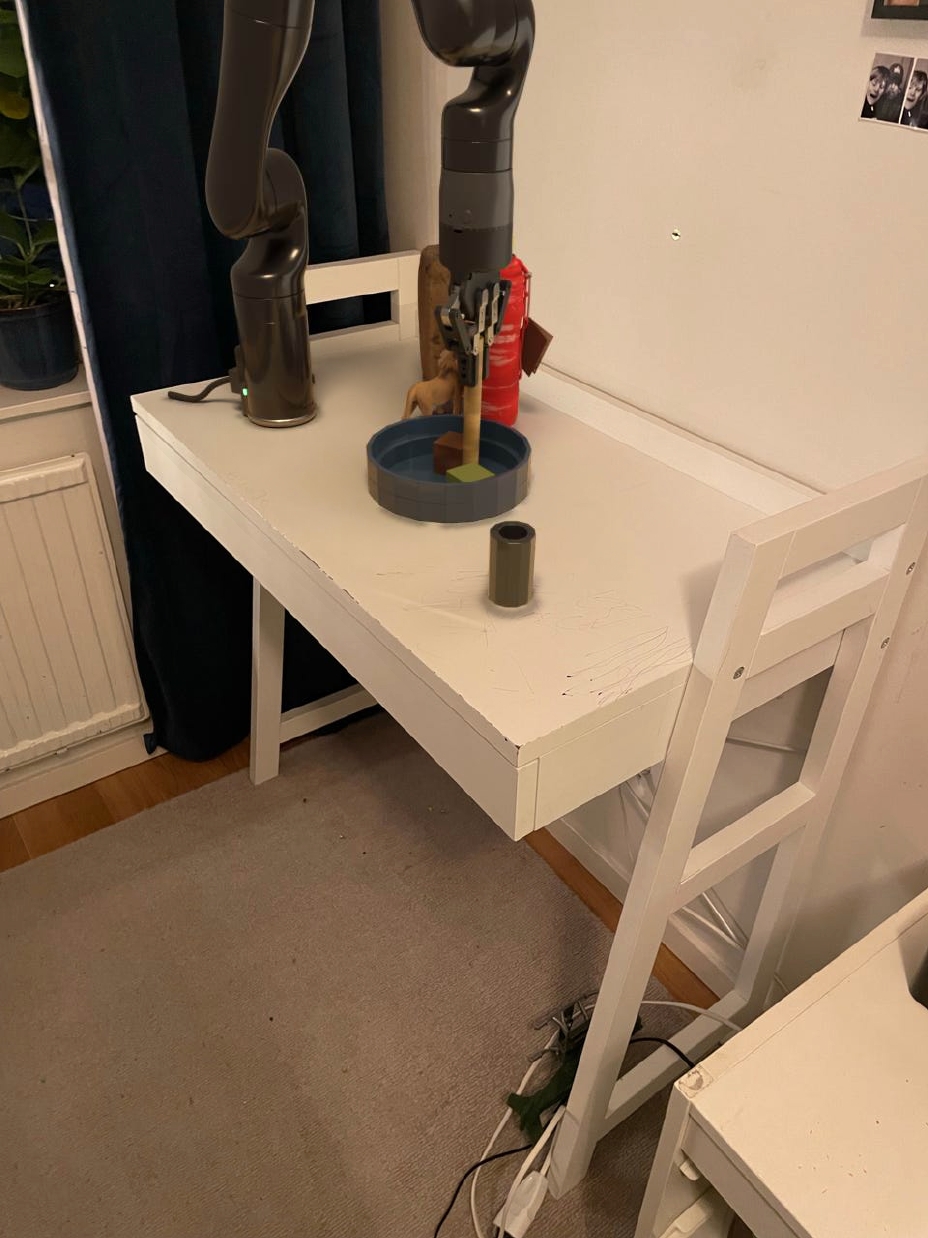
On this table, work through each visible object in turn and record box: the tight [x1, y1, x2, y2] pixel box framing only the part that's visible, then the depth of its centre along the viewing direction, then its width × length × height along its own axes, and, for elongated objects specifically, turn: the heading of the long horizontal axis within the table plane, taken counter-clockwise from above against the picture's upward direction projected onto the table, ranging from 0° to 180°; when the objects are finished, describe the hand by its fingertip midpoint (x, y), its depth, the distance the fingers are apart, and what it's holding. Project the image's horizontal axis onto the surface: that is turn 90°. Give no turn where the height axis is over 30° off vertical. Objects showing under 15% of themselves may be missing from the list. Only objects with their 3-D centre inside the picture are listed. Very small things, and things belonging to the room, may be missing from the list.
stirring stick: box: [462, 335, 484, 466], centre depth 106 cm, size 2×2×17 cm
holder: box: [487, 520, 537, 609], centre depth 91 cm, size 4×4×8 cm
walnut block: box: [433, 431, 463, 475], centre depth 114 cm, size 4×4×4 cm
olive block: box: [446, 462, 495, 483], centre depth 107 cm, size 4×4×4 cm
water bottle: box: [462, 236, 554, 427], centre depth 121 cm, size 12×8×25 cm, turn 101°
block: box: [417, 243, 463, 398], centre depth 133 cm, size 11×8×20 cm
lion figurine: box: [400, 350, 464, 421], centre depth 125 cm, size 15×5×9 cm, turn 153°
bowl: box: [365, 413, 533, 524], centre depth 111 cm, size 19×19×6 cm
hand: (473, 381), depth 104 cm, fingers closed on stirring stick, 2 cm apart
